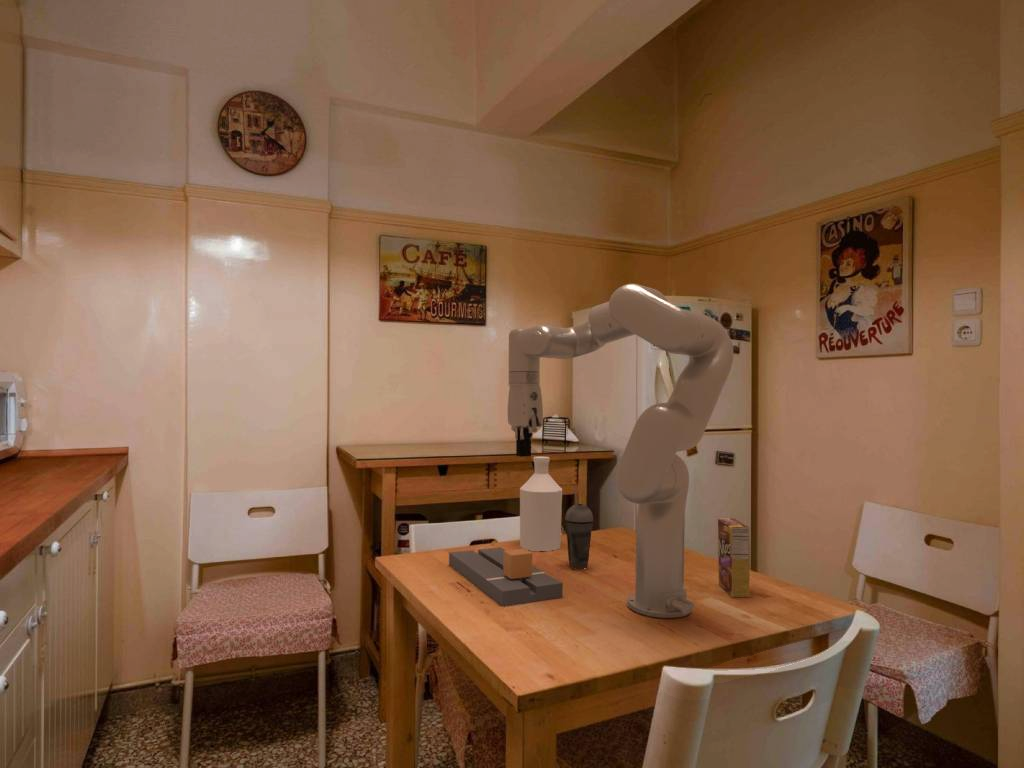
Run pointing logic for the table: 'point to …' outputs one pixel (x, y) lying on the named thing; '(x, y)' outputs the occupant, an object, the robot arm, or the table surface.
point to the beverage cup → (578, 534)
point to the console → (503, 578)
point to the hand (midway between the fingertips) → (523, 455)
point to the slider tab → (517, 564)
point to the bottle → (540, 510)
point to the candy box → (734, 557)
